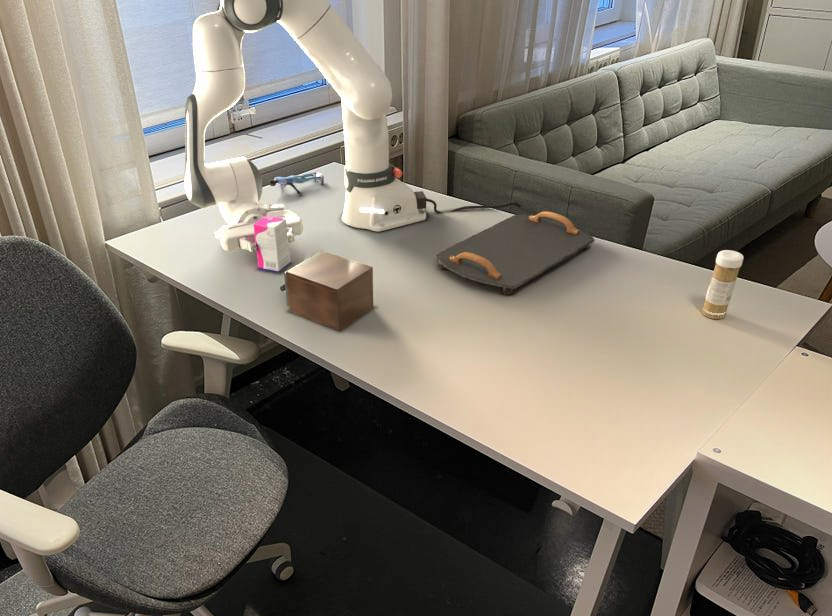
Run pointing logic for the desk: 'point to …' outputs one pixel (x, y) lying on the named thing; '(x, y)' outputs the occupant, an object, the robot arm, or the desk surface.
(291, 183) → the person figurine
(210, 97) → the robot arm
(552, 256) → the serving tray
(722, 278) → the sprinkles bottle
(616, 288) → the desk surface
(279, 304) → the desk surface
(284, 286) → the drawer
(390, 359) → the desk surface
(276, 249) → the supplement box
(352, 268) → the cabinet
